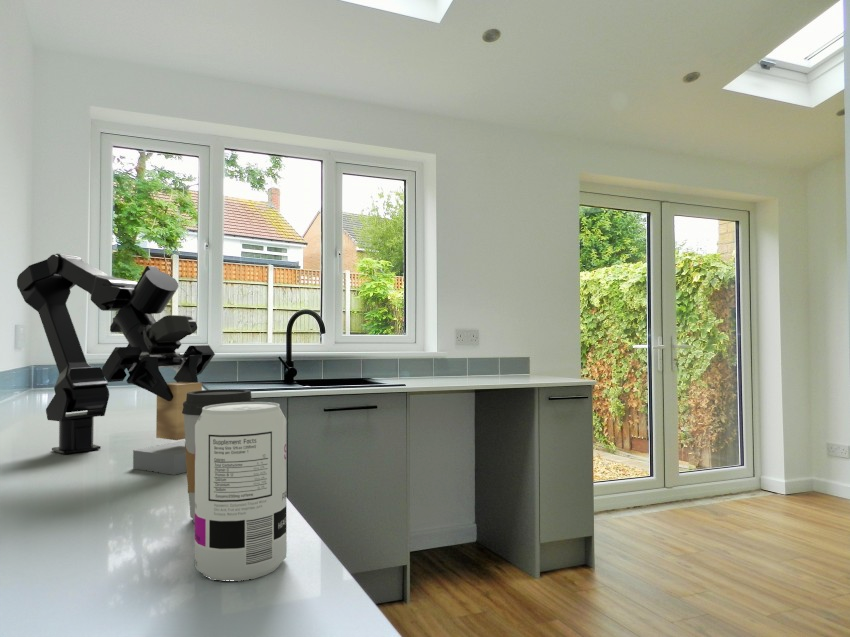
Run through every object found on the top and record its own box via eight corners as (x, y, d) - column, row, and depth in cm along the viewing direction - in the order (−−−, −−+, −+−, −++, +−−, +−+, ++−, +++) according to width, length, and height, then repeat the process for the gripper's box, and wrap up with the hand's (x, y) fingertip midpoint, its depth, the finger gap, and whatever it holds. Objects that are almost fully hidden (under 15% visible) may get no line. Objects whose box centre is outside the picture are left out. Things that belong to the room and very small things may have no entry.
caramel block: (156, 437, 97) (156, 383, 97) (181, 433, 101) (181, 381, 102) (176, 440, 95) (176, 385, 95) (201, 435, 99) (201, 382, 99)
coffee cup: (241, 529, 65) (242, 395, 65) (168, 529, 65) (168, 395, 66) (264, 507, 73) (264, 388, 74) (198, 507, 73) (199, 388, 74)
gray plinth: (133, 468, 96) (133, 450, 96) (184, 457, 105) (184, 440, 105) (173, 474, 91) (174, 455, 91) (223, 462, 100) (223, 445, 100)
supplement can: (175, 574, 53) (175, 409, 53) (242, 545, 60) (242, 399, 60) (240, 592, 49) (240, 413, 49) (304, 558, 56) (304, 403, 57)
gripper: (113, 296, 92) (158, 367, 87) (207, 302, 109) (250, 362, 103) (83, 345, 96) (124, 417, 90) (179, 344, 112) (219, 404, 107)
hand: (184, 397), depth 98 cm, fingers closed on caramel block, 5 cm apart
